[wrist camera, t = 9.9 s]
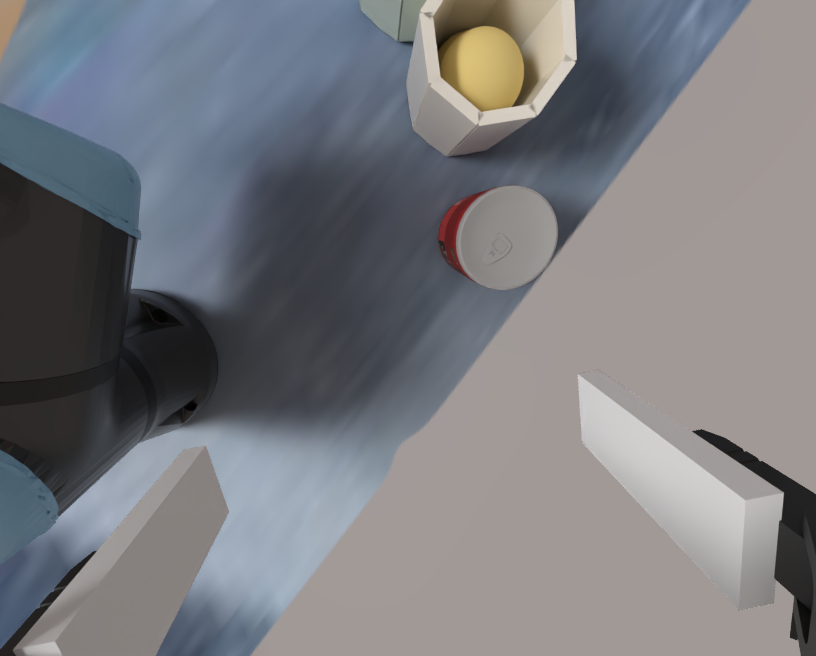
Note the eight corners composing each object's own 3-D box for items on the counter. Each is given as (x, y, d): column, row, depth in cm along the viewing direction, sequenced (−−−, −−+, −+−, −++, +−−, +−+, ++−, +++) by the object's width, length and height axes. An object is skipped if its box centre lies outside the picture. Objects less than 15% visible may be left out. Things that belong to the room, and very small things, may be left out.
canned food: (423, 253, 41) (439, 263, 30) (461, 179, 39) (491, 163, 29) (487, 286, 42) (523, 308, 32) (526, 216, 41) (578, 214, 30)
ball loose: (440, 87, 33) (442, 146, 31) (435, 11, 27) (436, 78, 25) (515, 78, 32) (522, 138, 30) (525, -3, 26) (534, 65, 25)
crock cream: (416, 162, 38) (435, 133, 26) (400, 49, 36) (411, -44, 23) (514, 146, 39) (579, 109, 26) (504, 33, 36) (571, -68, 24)
